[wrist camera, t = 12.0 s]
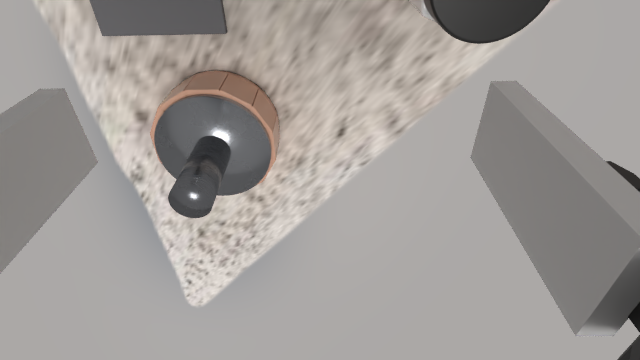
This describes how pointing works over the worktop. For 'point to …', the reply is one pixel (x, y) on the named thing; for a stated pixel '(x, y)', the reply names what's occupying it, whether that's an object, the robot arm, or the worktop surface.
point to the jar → (480, 17)
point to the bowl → (232, 89)
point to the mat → (159, 17)
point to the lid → (210, 151)
